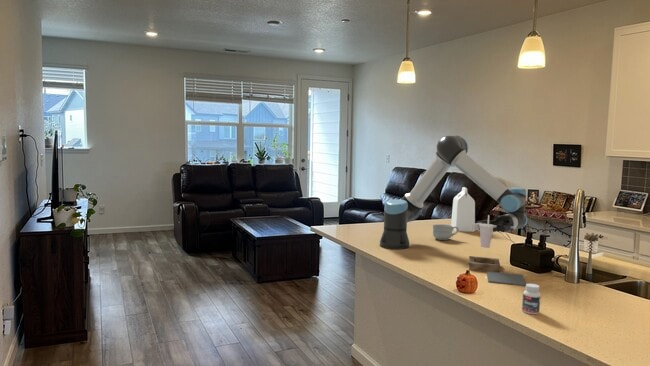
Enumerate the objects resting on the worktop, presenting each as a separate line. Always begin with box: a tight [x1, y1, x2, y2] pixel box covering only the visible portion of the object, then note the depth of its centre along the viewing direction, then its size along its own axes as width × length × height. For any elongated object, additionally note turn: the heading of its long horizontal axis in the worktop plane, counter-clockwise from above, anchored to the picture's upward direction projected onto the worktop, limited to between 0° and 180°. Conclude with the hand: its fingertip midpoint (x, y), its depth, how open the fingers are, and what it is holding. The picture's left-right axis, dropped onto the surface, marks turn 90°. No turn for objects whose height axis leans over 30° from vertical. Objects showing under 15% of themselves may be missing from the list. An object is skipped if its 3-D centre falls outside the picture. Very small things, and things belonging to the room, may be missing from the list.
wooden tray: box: [468, 255, 501, 273], centre depth 208 cm, size 12×12×3 cm
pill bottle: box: [521, 283, 541, 315], centre depth 155 cm, size 5×5×9 cm
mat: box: [486, 271, 527, 287], centre depth 191 cm, size 14×14×1 cm
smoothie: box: [479, 214, 494, 249], centre depth 206 cm, size 6×6×14 cm
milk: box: [450, 186, 476, 232], centre depth 293 cm, size 12×12×26 cm
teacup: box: [432, 223, 460, 241], centre depth 263 cm, size 14×11×8 cm
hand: (480, 228), depth 202 cm, fingers closed on smoothie, 6 cm apart
